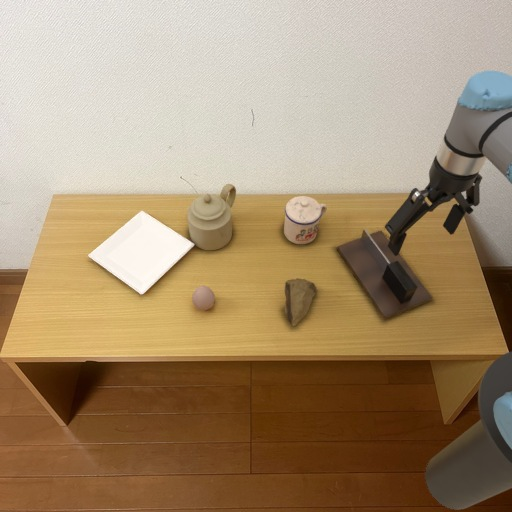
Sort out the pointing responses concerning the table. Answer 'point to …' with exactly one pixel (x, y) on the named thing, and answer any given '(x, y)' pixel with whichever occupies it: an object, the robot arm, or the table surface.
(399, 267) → the knife
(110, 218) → the table surface
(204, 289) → the egg
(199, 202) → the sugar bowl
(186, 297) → the table surface
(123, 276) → the plate
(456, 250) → the table surface
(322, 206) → the teacup with lid
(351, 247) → the cutting board
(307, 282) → the rock
